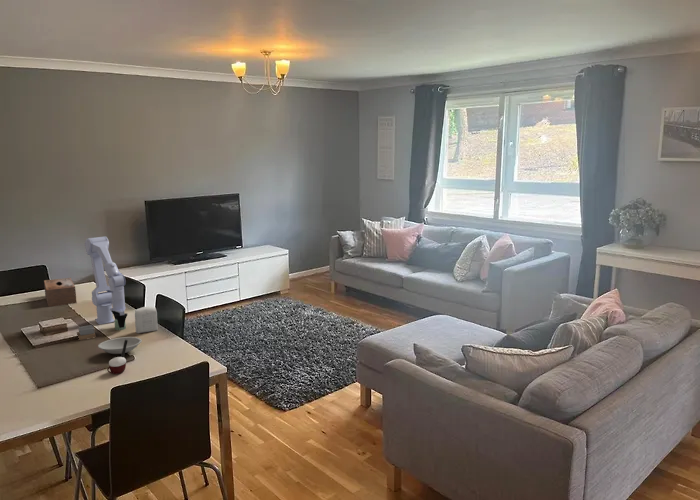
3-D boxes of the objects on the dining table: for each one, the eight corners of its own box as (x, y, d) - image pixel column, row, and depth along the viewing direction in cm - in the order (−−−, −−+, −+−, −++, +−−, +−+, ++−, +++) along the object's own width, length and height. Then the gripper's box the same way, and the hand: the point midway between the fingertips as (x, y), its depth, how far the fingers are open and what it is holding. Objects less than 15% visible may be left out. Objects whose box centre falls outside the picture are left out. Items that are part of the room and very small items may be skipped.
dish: (99, 363, 224) (99, 351, 223) (97, 351, 236) (97, 340, 235) (144, 355, 232) (143, 344, 231) (140, 345, 244) (139, 334, 243)
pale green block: (114, 328, 267) (113, 319, 266) (124, 326, 270) (124, 317, 269) (116, 331, 263) (115, 322, 262) (126, 329, 266) (126, 320, 265)
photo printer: (156, 328, 268) (155, 304, 265) (158, 330, 264) (157, 306, 262) (134, 331, 262) (133, 307, 260) (136, 334, 258) (135, 309, 256)
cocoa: (108, 378, 210) (105, 349, 207) (105, 372, 215) (101, 344, 212) (133, 371, 216) (130, 343, 213) (129, 365, 221) (126, 338, 218)
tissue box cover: (76, 303, 309) (75, 286, 307) (48, 307, 302) (46, 290, 300) (72, 293, 331) (70, 277, 329) (45, 296, 323) (43, 280, 321)
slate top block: (78, 332, 255) (78, 327, 254) (92, 329, 258) (92, 324, 258) (80, 335, 250) (80, 330, 249) (94, 333, 253) (94, 328, 253)
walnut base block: (77, 337, 255) (76, 332, 255) (93, 334, 259) (92, 329, 258) (79, 341, 249) (79, 336, 249) (95, 338, 253) (95, 333, 253)
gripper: (106, 297, 267) (108, 323, 270) (112, 303, 255) (114, 331, 258) (121, 294, 271) (123, 320, 274) (128, 301, 259) (130, 328, 262)
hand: (120, 325), depth 266 cm, fingers open, 6 cm apart
